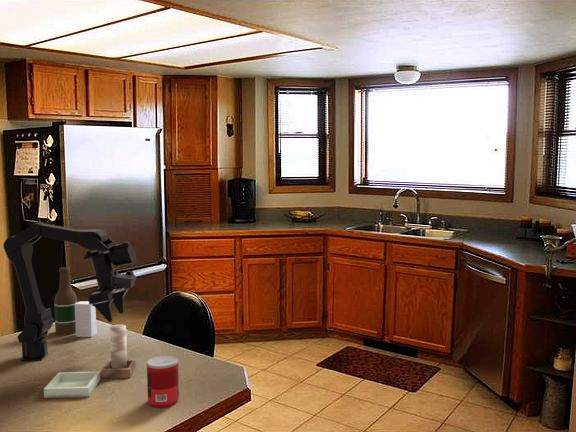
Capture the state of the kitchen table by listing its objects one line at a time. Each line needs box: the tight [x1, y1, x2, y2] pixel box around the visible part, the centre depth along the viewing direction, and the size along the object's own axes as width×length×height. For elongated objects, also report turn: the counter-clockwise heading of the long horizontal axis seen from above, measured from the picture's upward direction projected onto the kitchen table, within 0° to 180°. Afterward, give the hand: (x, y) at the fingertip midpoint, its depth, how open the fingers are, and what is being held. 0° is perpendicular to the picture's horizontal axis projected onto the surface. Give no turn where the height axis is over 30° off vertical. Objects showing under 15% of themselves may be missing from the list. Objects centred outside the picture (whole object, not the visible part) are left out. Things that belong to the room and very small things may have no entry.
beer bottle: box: [53, 266, 78, 336], centre depth 204 cm, size 8×8×24 cm
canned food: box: [146, 355, 180, 408], centre depth 146 cm, size 8×8×11 cm
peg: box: [109, 323, 128, 369], centre depth 166 cm, size 4×4×14 cm
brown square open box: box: [101, 358, 137, 379], centre depth 166 cm, size 8×8×2 cm
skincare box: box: [75, 300, 98, 338], centre depth 201 cm, size 6×4×12 cm
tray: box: [43, 371, 101, 399], centre depth 155 cm, size 12×12×2 cm
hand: (116, 317), depth 176 cm, fingers open, 9 cm apart
